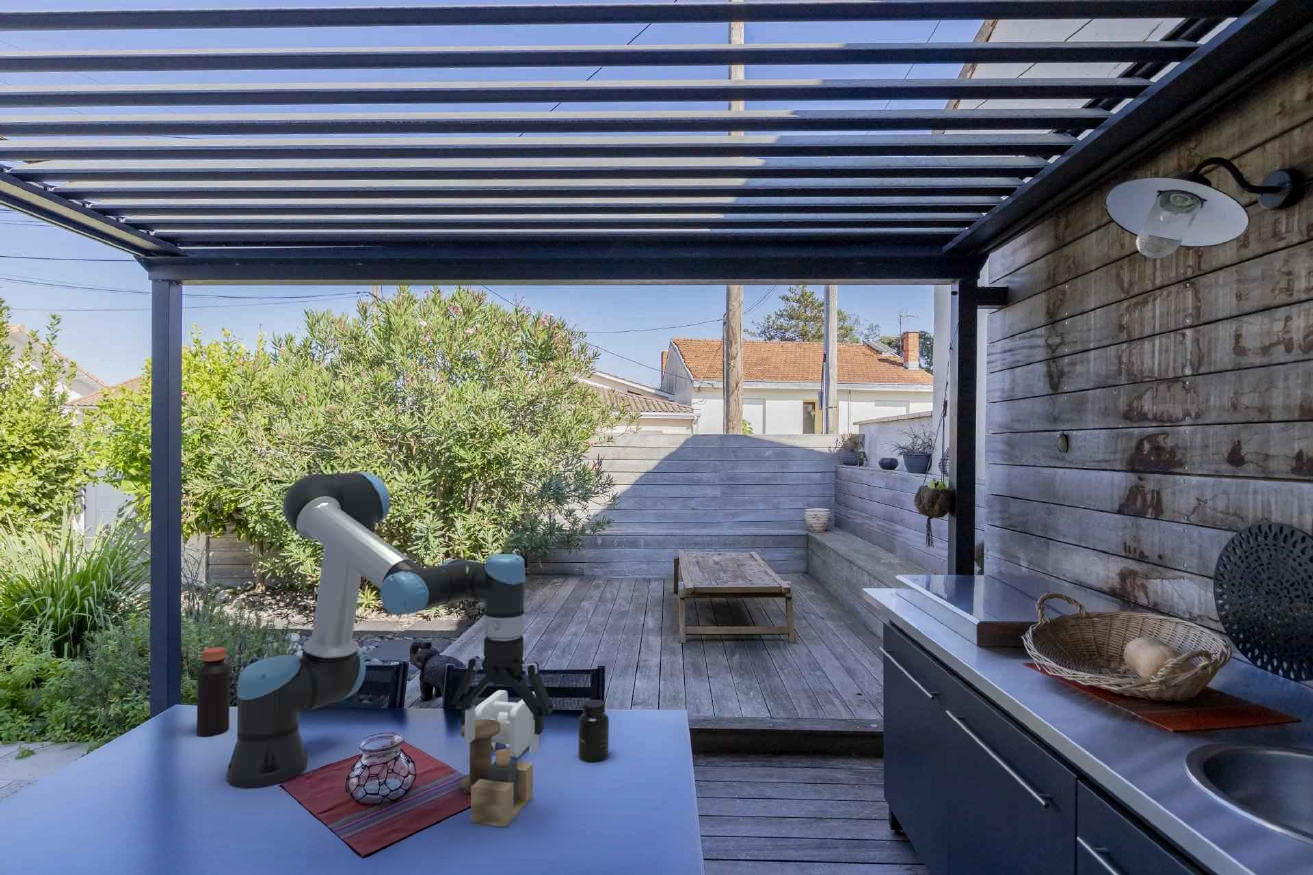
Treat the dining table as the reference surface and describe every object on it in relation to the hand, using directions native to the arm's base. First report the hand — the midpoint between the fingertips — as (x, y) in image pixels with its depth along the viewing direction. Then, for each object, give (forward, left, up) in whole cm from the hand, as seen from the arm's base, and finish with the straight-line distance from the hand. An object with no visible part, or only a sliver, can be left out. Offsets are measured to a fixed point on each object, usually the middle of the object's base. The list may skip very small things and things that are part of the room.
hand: (501, 745), depth 139 cm
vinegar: (-86, +17, -12) cm, 88 cm away
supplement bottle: (+9, +27, -12) cm, 31 cm away
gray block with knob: (0, 0, -11) cm, 11 cm away
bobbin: (-9, +8, -12) cm, 17 cm away
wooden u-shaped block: (0, 0, -12) cm, 12 cm away
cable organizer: (-12, +26, -12) cm, 31 cm away
